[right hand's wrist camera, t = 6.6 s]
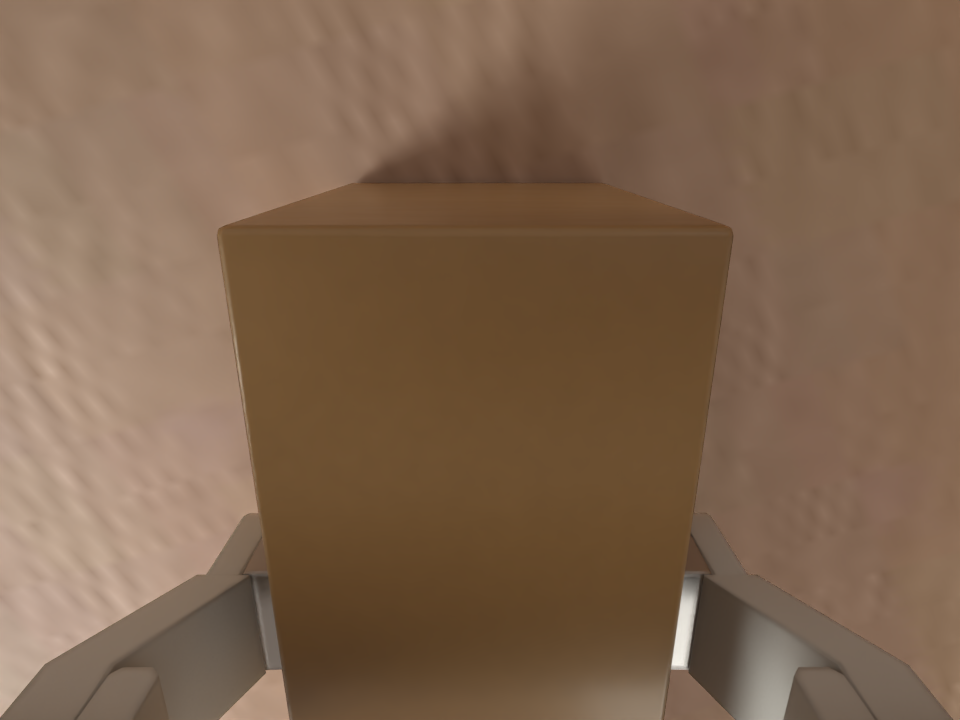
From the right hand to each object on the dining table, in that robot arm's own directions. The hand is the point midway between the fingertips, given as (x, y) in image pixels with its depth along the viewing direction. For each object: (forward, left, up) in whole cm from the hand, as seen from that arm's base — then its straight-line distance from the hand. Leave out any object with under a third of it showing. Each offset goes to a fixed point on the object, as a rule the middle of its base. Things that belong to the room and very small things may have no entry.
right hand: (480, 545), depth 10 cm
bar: (+24, -17, -3) cm, 29 cm away
